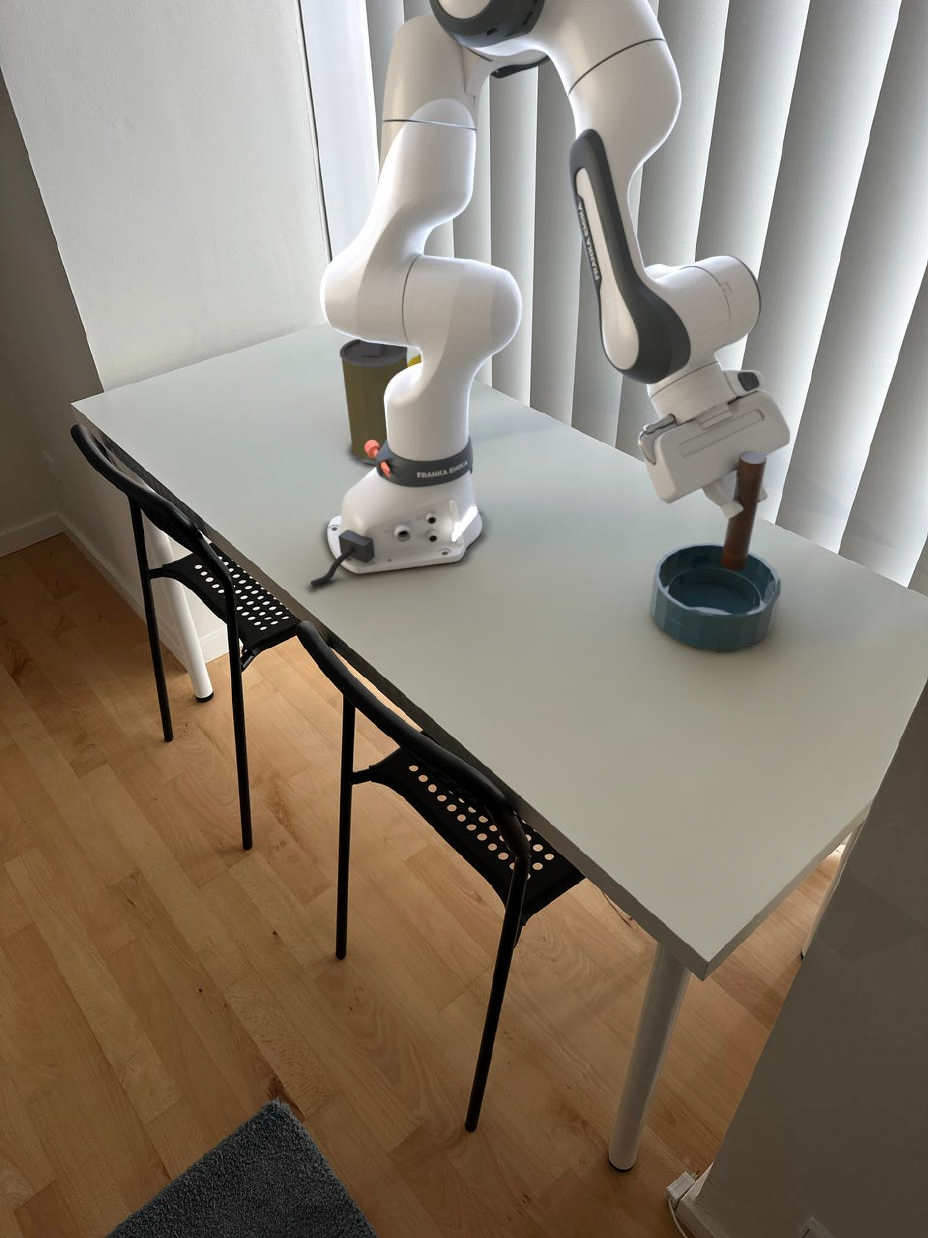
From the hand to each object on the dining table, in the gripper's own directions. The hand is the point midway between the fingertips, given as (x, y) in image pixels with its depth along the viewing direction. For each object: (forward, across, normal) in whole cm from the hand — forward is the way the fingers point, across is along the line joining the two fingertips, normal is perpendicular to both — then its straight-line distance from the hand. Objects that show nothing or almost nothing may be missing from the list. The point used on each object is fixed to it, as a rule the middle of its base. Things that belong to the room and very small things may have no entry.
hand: (748, 508), depth 111 cm
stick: (+6, 0, +6) cm, 8 cm away
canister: (-34, -10, +56) cm, 67 cm away
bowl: (+10, -2, +12) cm, 16 cm away
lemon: (-42, +5, +64) cm, 77 cm away
